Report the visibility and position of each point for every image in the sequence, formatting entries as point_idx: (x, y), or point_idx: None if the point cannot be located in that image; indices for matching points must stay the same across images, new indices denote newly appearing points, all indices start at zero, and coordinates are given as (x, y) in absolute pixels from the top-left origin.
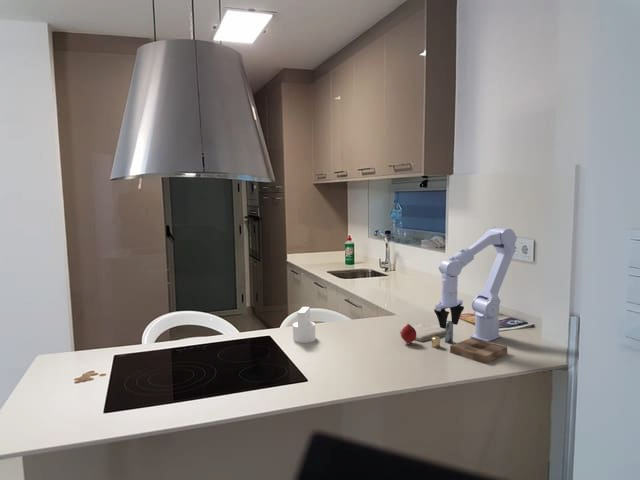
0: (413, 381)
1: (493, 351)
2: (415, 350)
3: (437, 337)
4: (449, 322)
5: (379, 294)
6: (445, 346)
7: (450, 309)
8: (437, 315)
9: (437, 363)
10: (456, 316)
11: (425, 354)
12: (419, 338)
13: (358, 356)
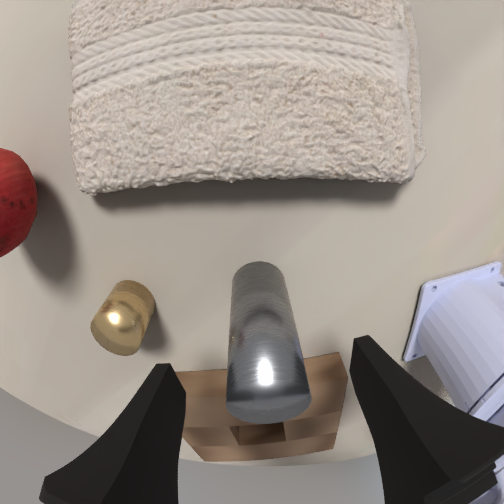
0: (15, 390)
1: (260, 457)
2: (32, 280)
3: (125, 337)
4: (255, 414)
5: None
6: (185, 322)
7: (424, 452)
8: (90, 460)
9: (73, 388)
10: (378, 428)
11: (56, 331)
12: (79, 187)
13: None
